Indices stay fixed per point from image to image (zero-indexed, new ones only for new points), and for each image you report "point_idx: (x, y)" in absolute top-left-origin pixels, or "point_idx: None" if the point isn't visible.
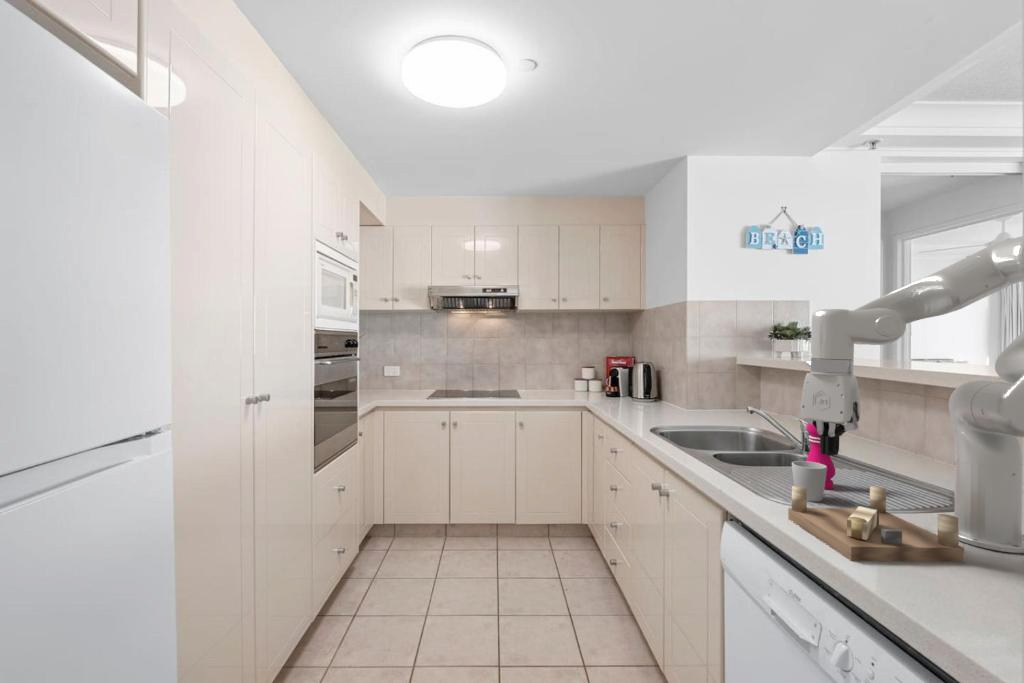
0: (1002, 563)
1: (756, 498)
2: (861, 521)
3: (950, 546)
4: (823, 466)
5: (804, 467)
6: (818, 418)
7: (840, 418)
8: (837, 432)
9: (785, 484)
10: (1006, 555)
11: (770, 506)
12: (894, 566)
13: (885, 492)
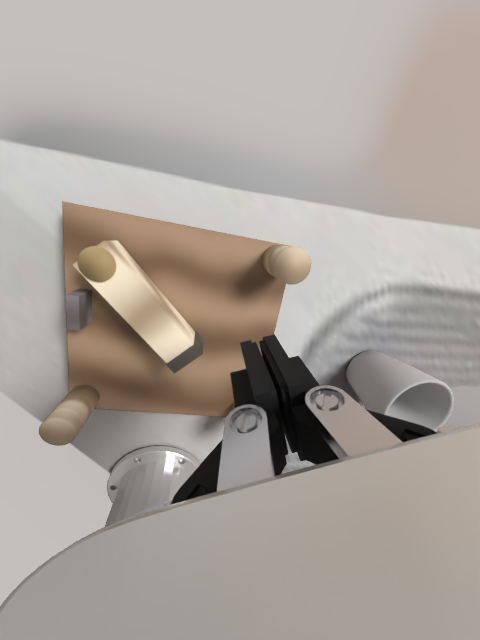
0: (79, 436)
1: (401, 267)
2: (81, 260)
3: (71, 390)
4: None
5: (406, 387)
6: (373, 465)
7: (24, 634)
8: (217, 456)
9: None
10: (107, 461)
11: (355, 262)
12: (57, 270)
13: None
